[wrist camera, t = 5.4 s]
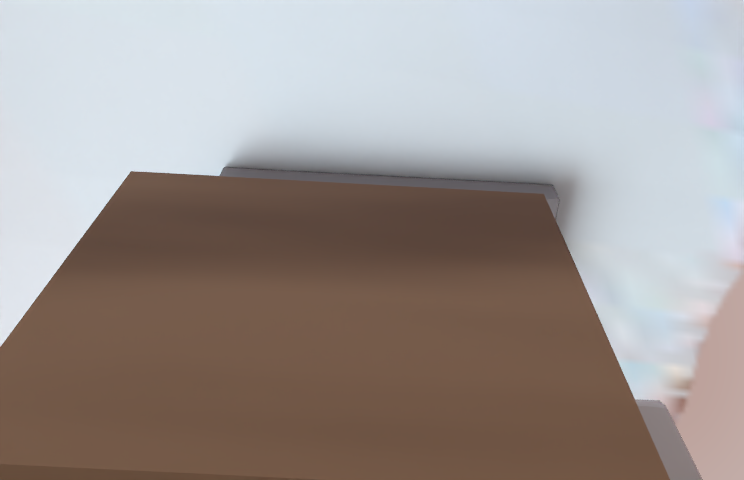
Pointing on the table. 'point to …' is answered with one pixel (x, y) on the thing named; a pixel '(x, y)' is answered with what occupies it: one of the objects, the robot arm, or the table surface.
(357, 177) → the baseplate
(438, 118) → the table surface
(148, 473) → the walnut brick
